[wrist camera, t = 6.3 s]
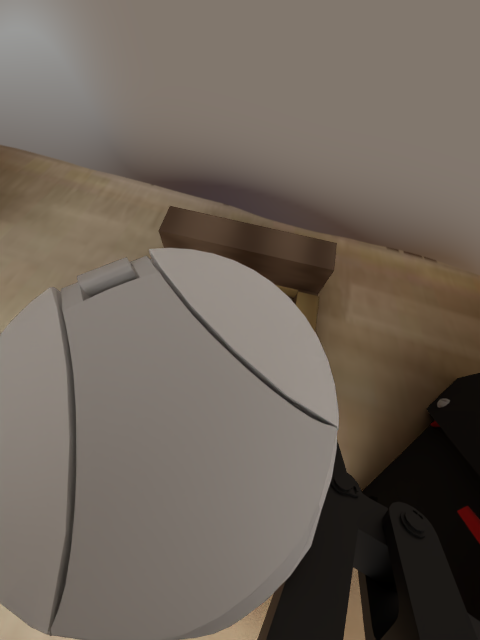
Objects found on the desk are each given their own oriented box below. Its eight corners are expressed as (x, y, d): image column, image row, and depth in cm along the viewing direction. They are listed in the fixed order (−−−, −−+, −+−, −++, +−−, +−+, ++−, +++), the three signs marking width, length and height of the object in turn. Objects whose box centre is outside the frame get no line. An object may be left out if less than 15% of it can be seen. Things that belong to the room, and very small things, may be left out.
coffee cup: (123, 402, 19) (-115, 316, 5) (223, 349, 21) (236, 191, 8) (173, 524, 16) (-44, 961, 3) (281, 449, 19) (461, 484, 5)
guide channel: (90, 465, 21) (43, 476, 15) (179, 248, 30) (169, 205, 24) (284, 516, 20) (308, 545, 15) (315, 279, 29) (337, 243, 24)
